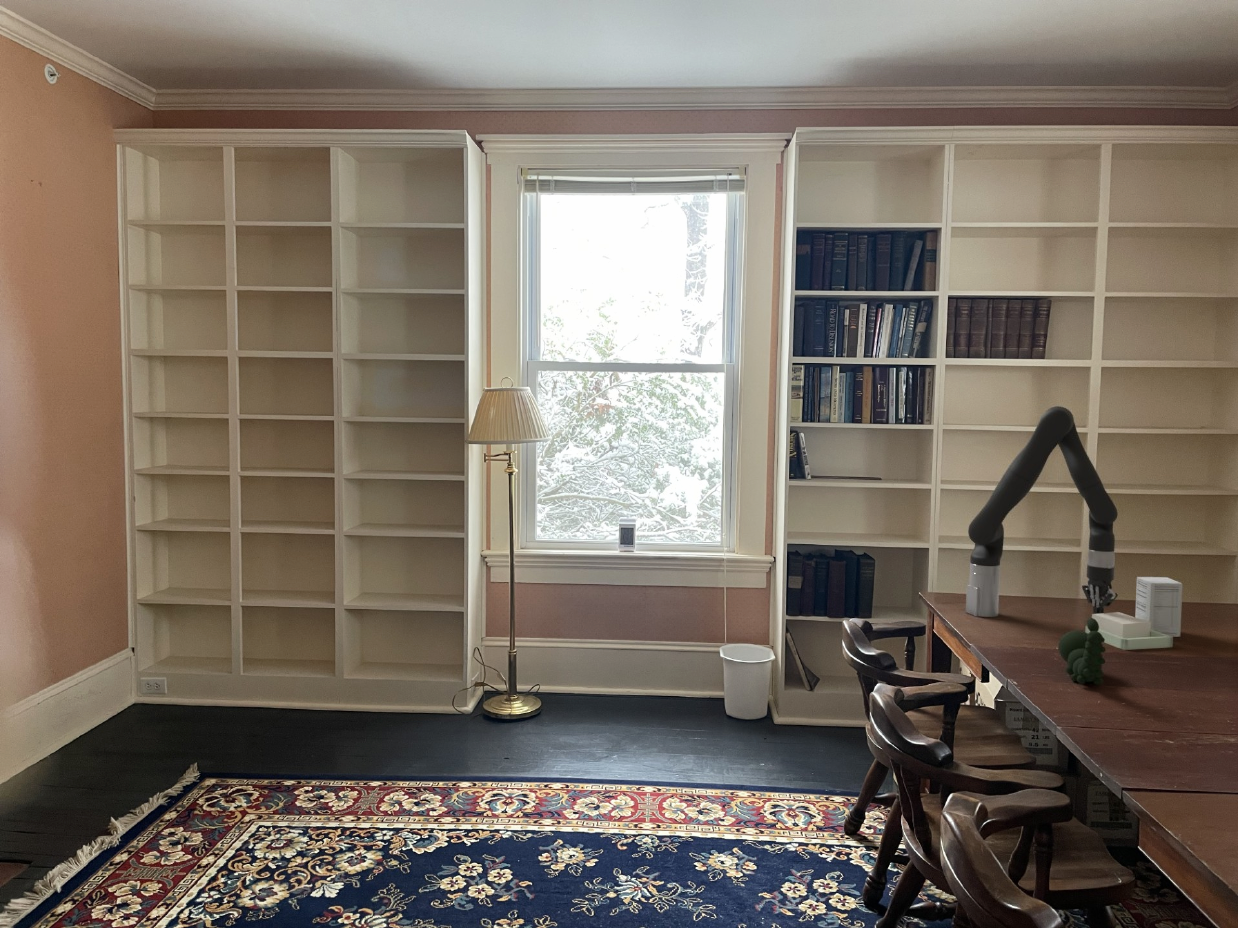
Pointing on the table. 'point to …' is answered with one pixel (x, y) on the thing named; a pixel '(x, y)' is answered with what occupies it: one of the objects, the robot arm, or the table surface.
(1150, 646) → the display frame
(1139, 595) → the supplement box
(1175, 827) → the table surface
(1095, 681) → the toy figurine
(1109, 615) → the carton
